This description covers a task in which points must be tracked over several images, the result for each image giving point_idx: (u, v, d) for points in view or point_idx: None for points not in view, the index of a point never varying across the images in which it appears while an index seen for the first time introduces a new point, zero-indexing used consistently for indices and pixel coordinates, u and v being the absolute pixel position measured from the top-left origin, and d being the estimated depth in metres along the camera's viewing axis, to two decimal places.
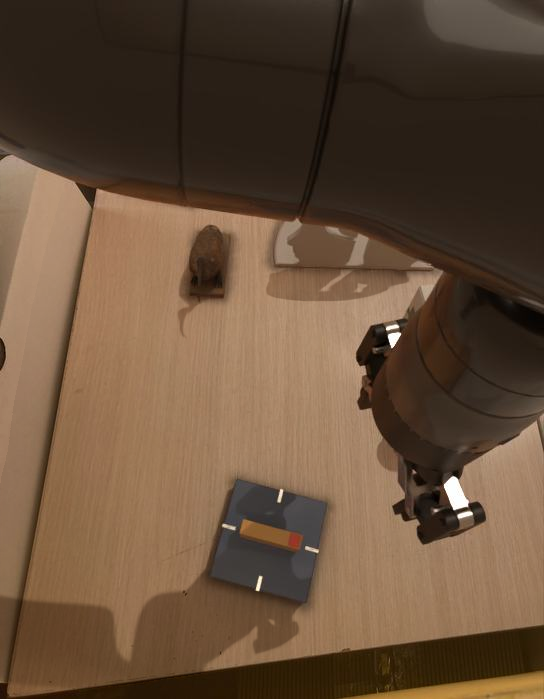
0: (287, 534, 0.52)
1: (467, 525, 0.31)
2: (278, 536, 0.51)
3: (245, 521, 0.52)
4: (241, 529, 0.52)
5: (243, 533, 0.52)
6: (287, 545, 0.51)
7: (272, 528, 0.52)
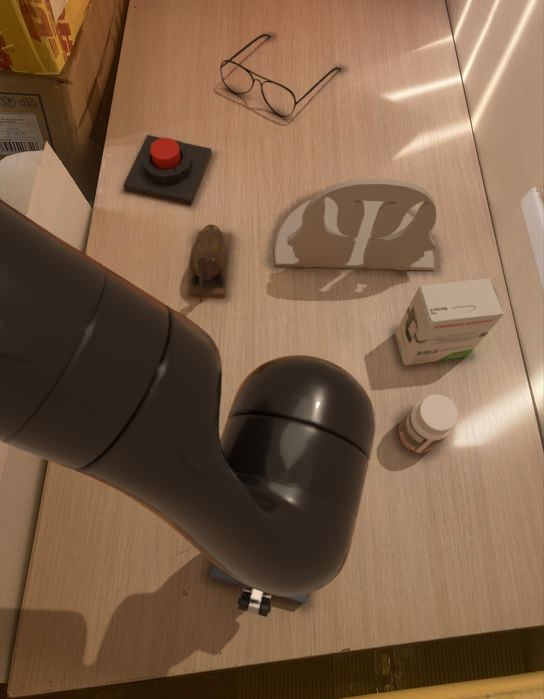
0: None
1: (253, 612, 0.43)
2: None
3: None
4: None
5: None
6: None
7: None
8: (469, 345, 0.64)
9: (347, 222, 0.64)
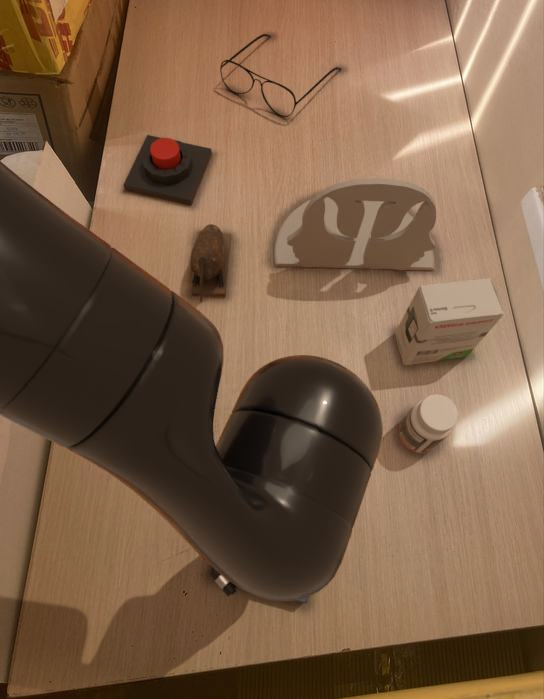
0: None
1: (218, 585, 0.45)
2: None
3: None
4: None
5: None
6: None
7: None
8: (469, 345, 0.64)
9: (347, 222, 0.64)
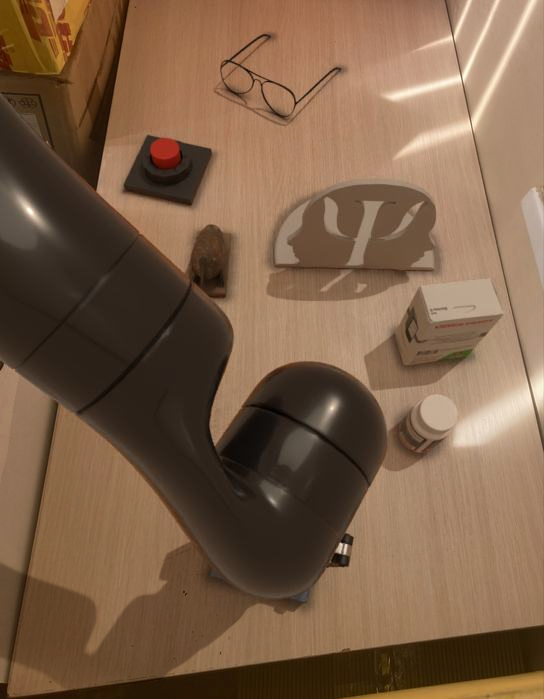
0: None
1: None
2: None
3: None
4: None
5: None
6: None
7: None
8: (469, 345, 0.64)
9: (347, 222, 0.64)
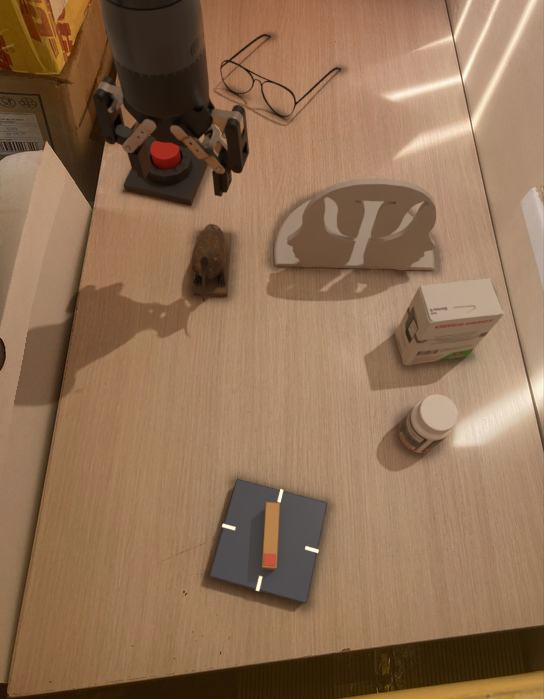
0: (274, 551, 0.51)
1: None
2: (270, 542, 0.51)
3: (278, 505, 0.53)
4: (269, 503, 0.53)
5: (266, 506, 0.53)
6: (263, 553, 0.51)
7: (276, 534, 0.52)
8: (469, 345, 0.64)
9: (347, 222, 0.64)
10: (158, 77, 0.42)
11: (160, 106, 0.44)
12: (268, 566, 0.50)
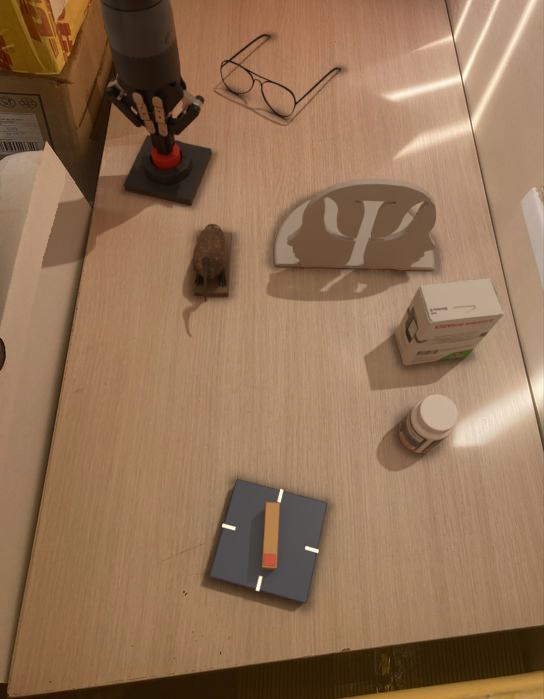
0: (274, 551, 0.51)
1: None
2: (270, 542, 0.51)
3: (278, 505, 0.53)
4: (269, 503, 0.53)
5: (266, 506, 0.53)
6: (263, 553, 0.51)
7: (276, 534, 0.52)
8: (469, 345, 0.64)
9: (347, 222, 0.64)
10: (142, 59, 0.58)
11: (144, 81, 0.61)
12: (268, 566, 0.50)
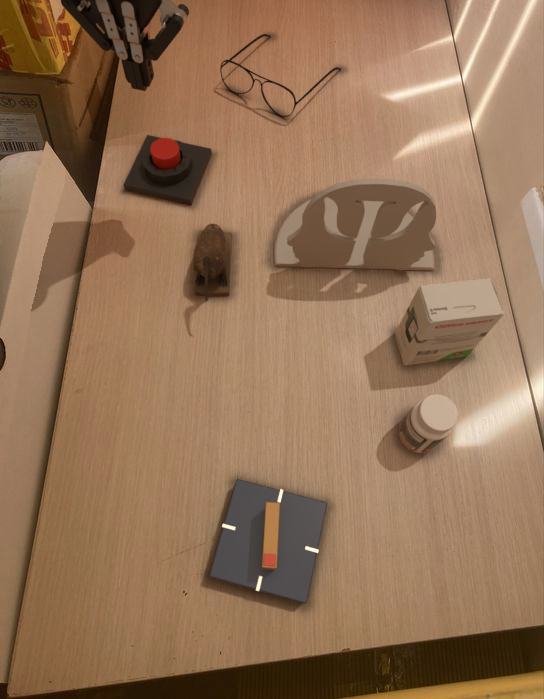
0: (274, 551, 0.51)
1: None
2: (270, 542, 0.51)
3: (278, 505, 0.53)
4: (269, 503, 0.53)
5: (266, 506, 0.53)
6: (263, 553, 0.51)
7: (276, 534, 0.52)
8: (469, 345, 0.64)
9: (347, 222, 0.64)
10: None
11: None
12: (268, 566, 0.50)
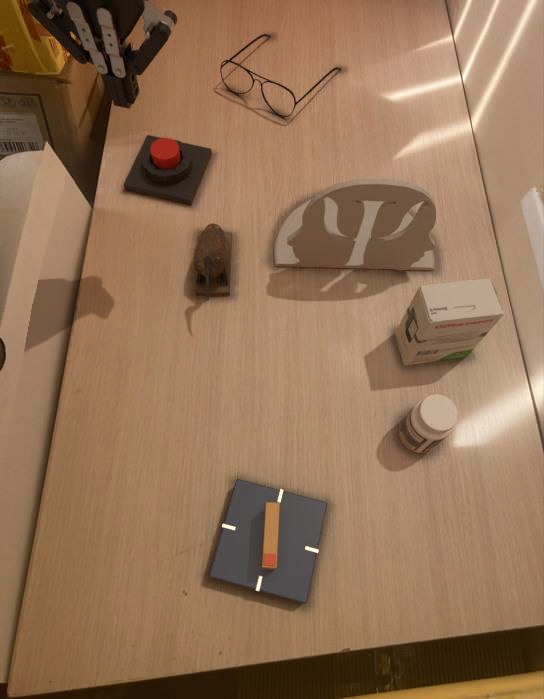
0: (274, 551, 0.51)
1: None
2: (270, 542, 0.51)
3: (278, 505, 0.53)
4: (269, 503, 0.53)
5: (266, 506, 0.53)
6: (263, 553, 0.51)
7: (276, 534, 0.52)
8: (469, 345, 0.64)
9: (347, 222, 0.64)
10: None
11: None
12: (268, 566, 0.50)
